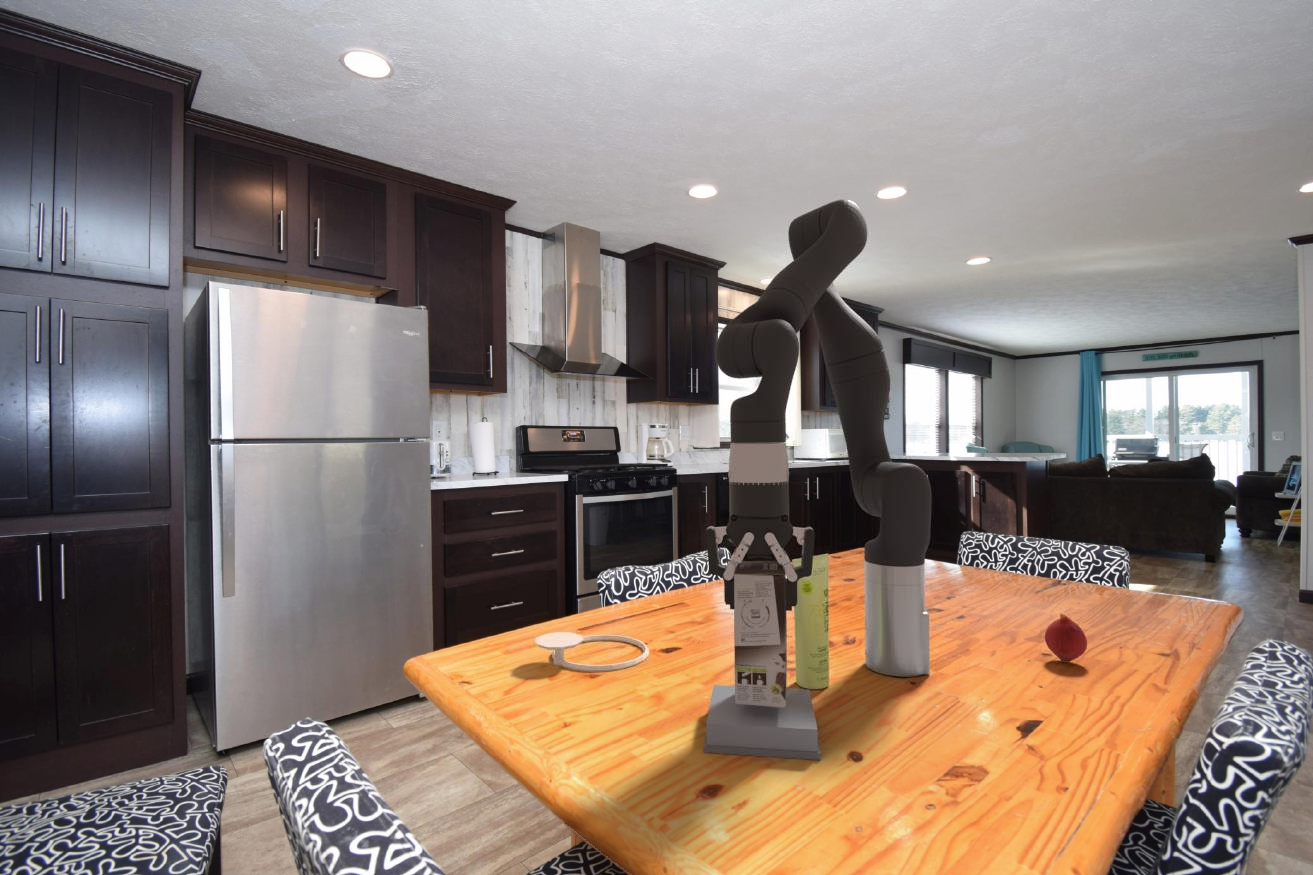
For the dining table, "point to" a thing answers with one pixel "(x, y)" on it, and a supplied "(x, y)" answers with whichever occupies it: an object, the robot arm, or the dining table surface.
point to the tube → (812, 625)
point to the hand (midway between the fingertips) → (760, 608)
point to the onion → (1065, 639)
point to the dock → (762, 726)
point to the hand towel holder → (571, 640)
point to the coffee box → (760, 634)
